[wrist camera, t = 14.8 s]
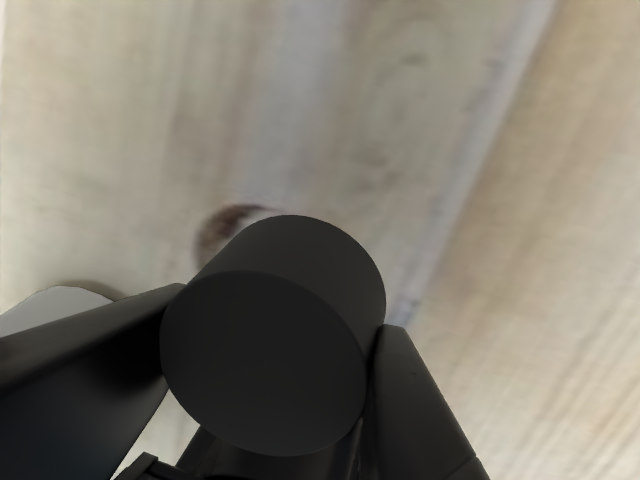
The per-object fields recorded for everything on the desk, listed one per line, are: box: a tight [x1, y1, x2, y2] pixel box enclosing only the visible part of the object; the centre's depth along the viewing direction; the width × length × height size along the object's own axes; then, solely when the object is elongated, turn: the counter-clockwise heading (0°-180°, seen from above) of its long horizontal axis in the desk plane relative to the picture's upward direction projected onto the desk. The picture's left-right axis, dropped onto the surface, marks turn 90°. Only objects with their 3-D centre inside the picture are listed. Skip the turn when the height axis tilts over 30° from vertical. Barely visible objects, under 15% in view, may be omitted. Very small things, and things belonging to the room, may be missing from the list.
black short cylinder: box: [159, 215, 386, 456], centre depth 9 cm, size 4×4×2 cm
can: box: [0, 286, 114, 337], centre depth 19 cm, size 8×8×12 cm
